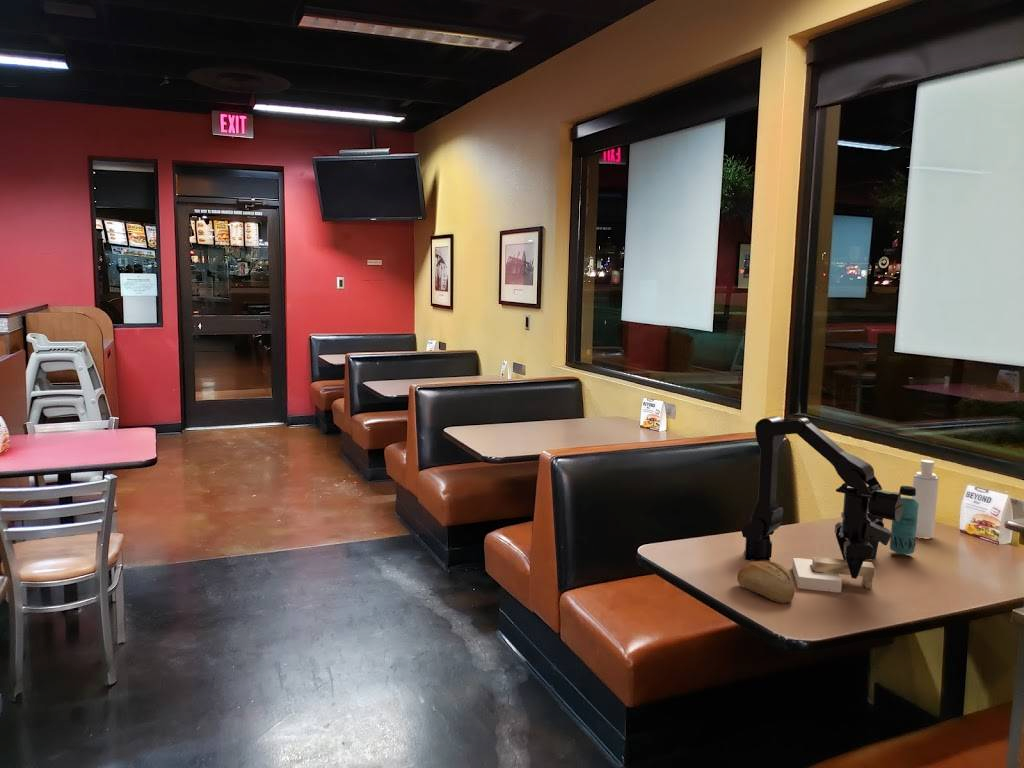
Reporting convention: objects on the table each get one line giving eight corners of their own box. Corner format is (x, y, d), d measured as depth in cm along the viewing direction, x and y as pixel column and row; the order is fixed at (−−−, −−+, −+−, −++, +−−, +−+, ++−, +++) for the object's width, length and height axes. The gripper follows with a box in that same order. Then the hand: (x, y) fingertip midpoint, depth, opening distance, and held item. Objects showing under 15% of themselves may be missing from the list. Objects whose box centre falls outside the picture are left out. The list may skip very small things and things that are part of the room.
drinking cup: (879, 553, 216) (885, 485, 213) (883, 562, 209) (888, 492, 206) (850, 550, 218) (855, 482, 216) (852, 559, 211) (858, 489, 208)
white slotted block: (798, 588, 190) (798, 576, 189) (792, 568, 203) (793, 557, 203) (841, 592, 187) (841, 581, 187) (832, 572, 201) (833, 561, 200)
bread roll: (750, 580, 195) (752, 550, 194) (803, 599, 183) (806, 568, 182) (727, 589, 189) (729, 558, 188) (781, 609, 177) (783, 576, 176)
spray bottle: (922, 540, 228) (929, 459, 225) (903, 533, 234) (910, 454, 231) (938, 538, 231) (945, 457, 227) (919, 531, 237) (926, 452, 234)
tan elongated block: (813, 582, 194) (814, 561, 193) (811, 576, 197) (812, 556, 197) (872, 588, 190) (874, 567, 189) (869, 583, 194) (871, 562, 193)
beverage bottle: (883, 551, 218) (889, 483, 215) (906, 551, 218) (911, 483, 216) (897, 559, 211) (903, 489, 209) (919, 559, 212) (926, 489, 209)
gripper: (899, 526, 180) (893, 589, 182) (882, 504, 198) (877, 562, 200) (848, 521, 183) (844, 583, 185) (836, 501, 201) (832, 557, 203)
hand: (850, 571), depth 193 cm, fingers open, 9 cm apart
